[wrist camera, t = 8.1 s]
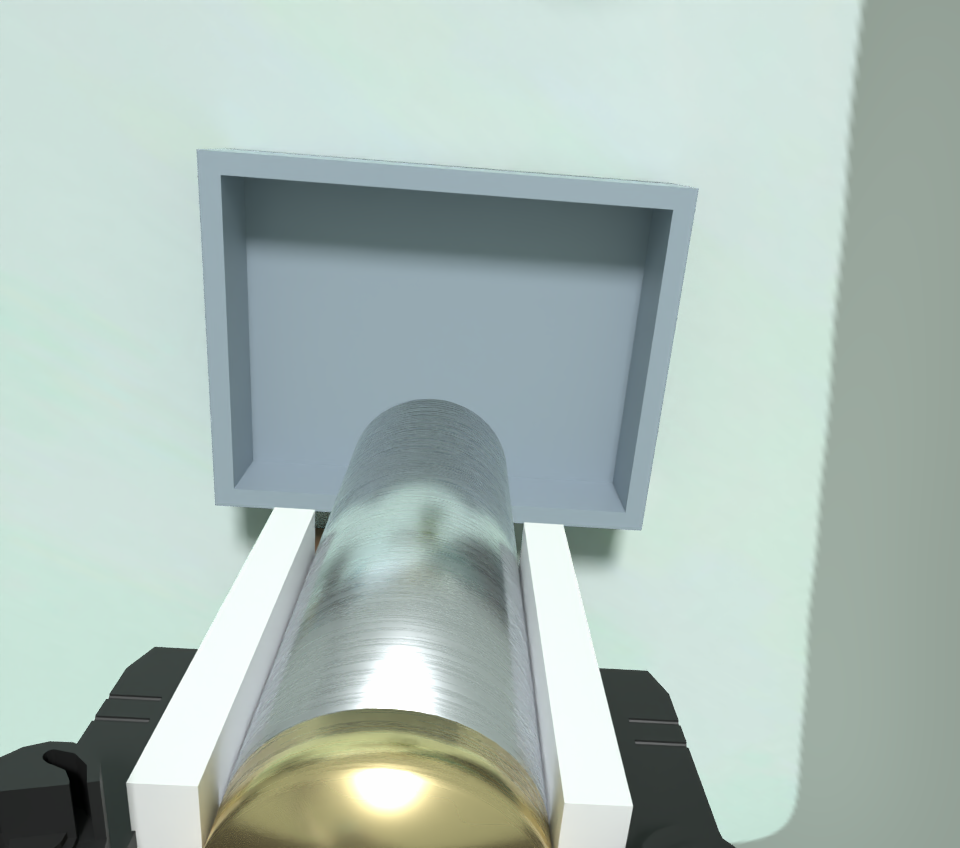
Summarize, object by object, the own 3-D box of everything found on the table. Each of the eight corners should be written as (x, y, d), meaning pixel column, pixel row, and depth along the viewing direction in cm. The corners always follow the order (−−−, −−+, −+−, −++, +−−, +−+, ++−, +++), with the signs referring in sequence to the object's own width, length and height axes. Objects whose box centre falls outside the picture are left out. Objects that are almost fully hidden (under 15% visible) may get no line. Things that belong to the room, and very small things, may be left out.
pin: (352, 393, 19) (176, 768, 7) (513, 404, 19) (580, 787, 8) (350, 536, 20) (198, 1036, 9) (500, 545, 20) (539, 1047, 9)
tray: (230, 148, 30) (196, 149, 27) (670, 183, 31) (698, 188, 27) (242, 466, 35) (215, 505, 31) (623, 490, 36) (641, 530, 32)
